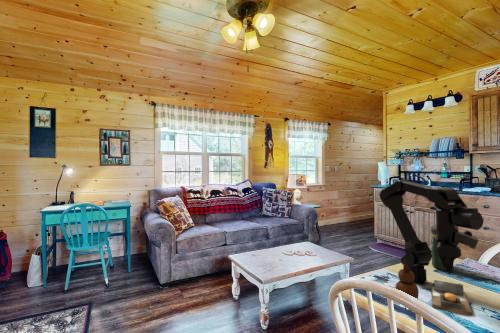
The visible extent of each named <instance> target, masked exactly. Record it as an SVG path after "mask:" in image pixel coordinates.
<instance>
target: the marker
mask: <svg viewBox="0 0 500 333" xmlns="http://www.w3.org/2000/svg"><path fill="white" fill-rule="evenodd" d="M431 287H435V290H437V291H442V292H448V293H453V294H458V295H464V292H465V291H464V285H463V284H460V283H455V282H449V281H443V280H442V281H441V280H436V279H434V280H433V282H430V288H431Z"/></svg>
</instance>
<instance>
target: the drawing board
mask: <svg viewBox="0 0 500 333" xmlns="http://www.w3.org/2000/svg"><path fill="white" fill-rule="evenodd" d="M445 293H448V292H442V291H437V290H435V287H431V286H430V294H431V307H432V308H434V309H435V308H436V309H439V310H445V311H449V312H454V313H458V314H464V315H467V316H472V315H473V314H472V309H471V307H470V303H469V300H468V298H467V294H466V292H465V291H464V295H458V294H454V295H456V302H451V301H447V300H446V299H445ZM452 294H453V293H452Z"/></svg>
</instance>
